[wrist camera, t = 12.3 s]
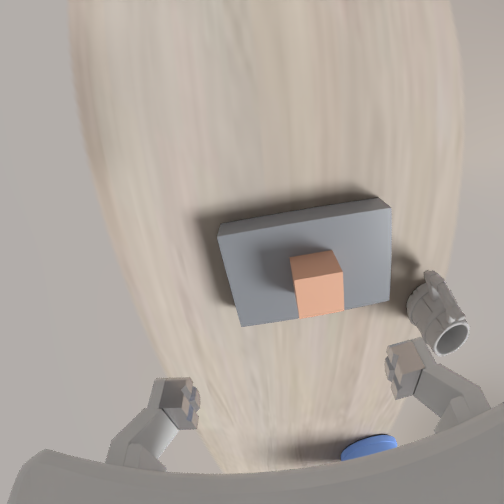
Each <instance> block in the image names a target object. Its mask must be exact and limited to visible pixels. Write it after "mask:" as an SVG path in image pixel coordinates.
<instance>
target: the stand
mask: <svg viewBox="0 0 504 504" xmlns="http://www.w3.org/2000/svg"><path fill="white" fill-rule="evenodd" d="M217 239H218V243H219V247H220V251H221V255H222V258H223V262H224V266H225V270H226V273H227V277H228V281H229V284H230V288H231V291H232V295H233V299H234V302H235V306H236V309H237V313H238V316H239V320H240V324H241V327H244V326H252V325H259V324H266V323H272V322H279V321H285V320H291V319H297V318H299V313H298V308H297V303H296V297H295V291H294V285H293V278H292V271H291V265H290V258H289V257H294V256H300V255H306V254H312V253H318V252H323V251H329V250H332V251H333V253H334V255H335V257H336V259H337V261H338V263H339V265H340V267H341V269H342V271H343V286H344V310H347V309H352V308H357V307H362V306H366V305H371V304H376V303H380V302H385V301H389V296H390V280H391V252H392V213H391V207H390V206H389V205H387V204H386V203H385V202H384V201H382V200H381V199H380V198H373V199H366V200H359V201H353V202H346V203H339V204H333V205H327V206H320V207H314V208H308V209H302V210H296V211H290V212H284V213H278V214H272V215H267V216H261V217H255V218H250V219H244V220H239V221H233V222H228V223H222V224H220V228H219V231H218V234H217Z"/></svg>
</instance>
